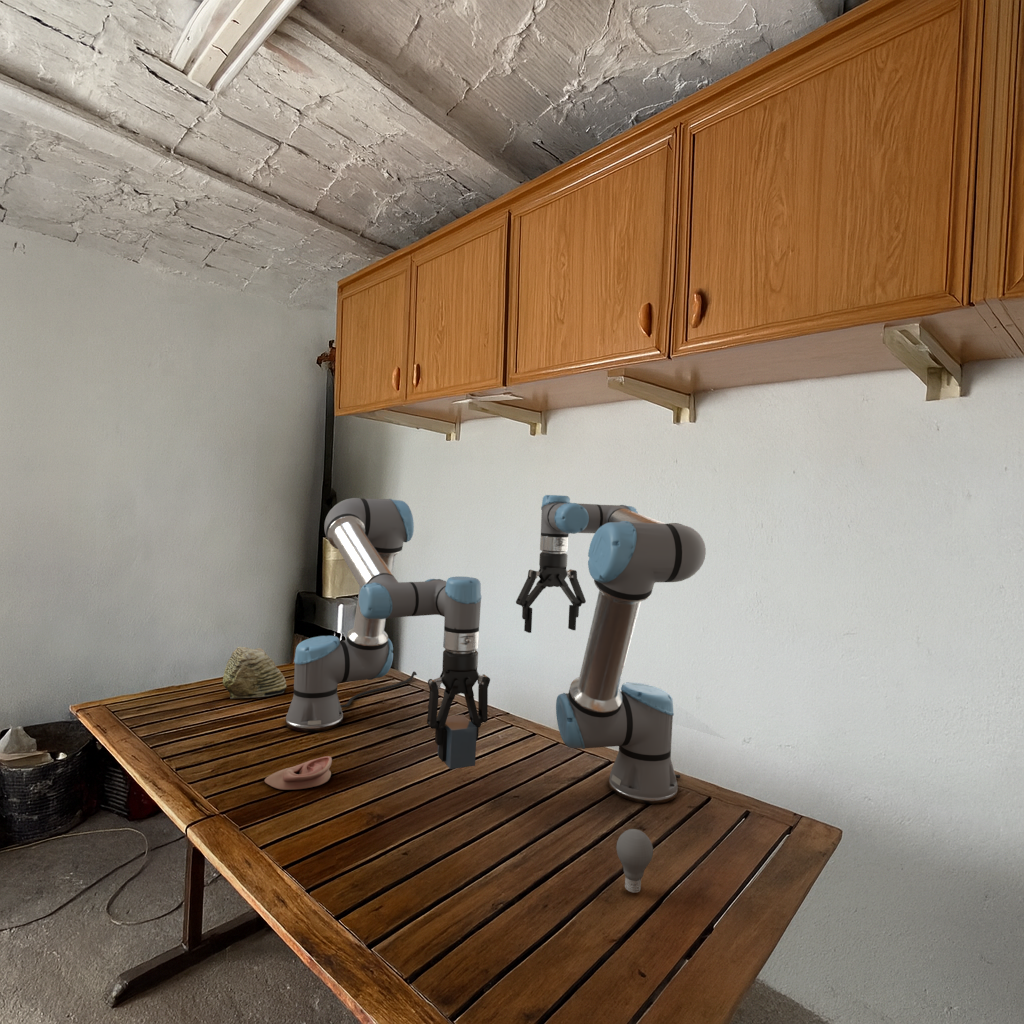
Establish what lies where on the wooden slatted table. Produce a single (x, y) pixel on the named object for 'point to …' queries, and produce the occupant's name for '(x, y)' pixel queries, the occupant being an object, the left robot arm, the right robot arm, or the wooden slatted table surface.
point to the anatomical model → (302, 775)
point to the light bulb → (634, 857)
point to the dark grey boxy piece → (460, 742)
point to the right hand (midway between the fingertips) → (550, 630)
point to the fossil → (252, 674)
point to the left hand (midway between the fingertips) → (456, 756)
